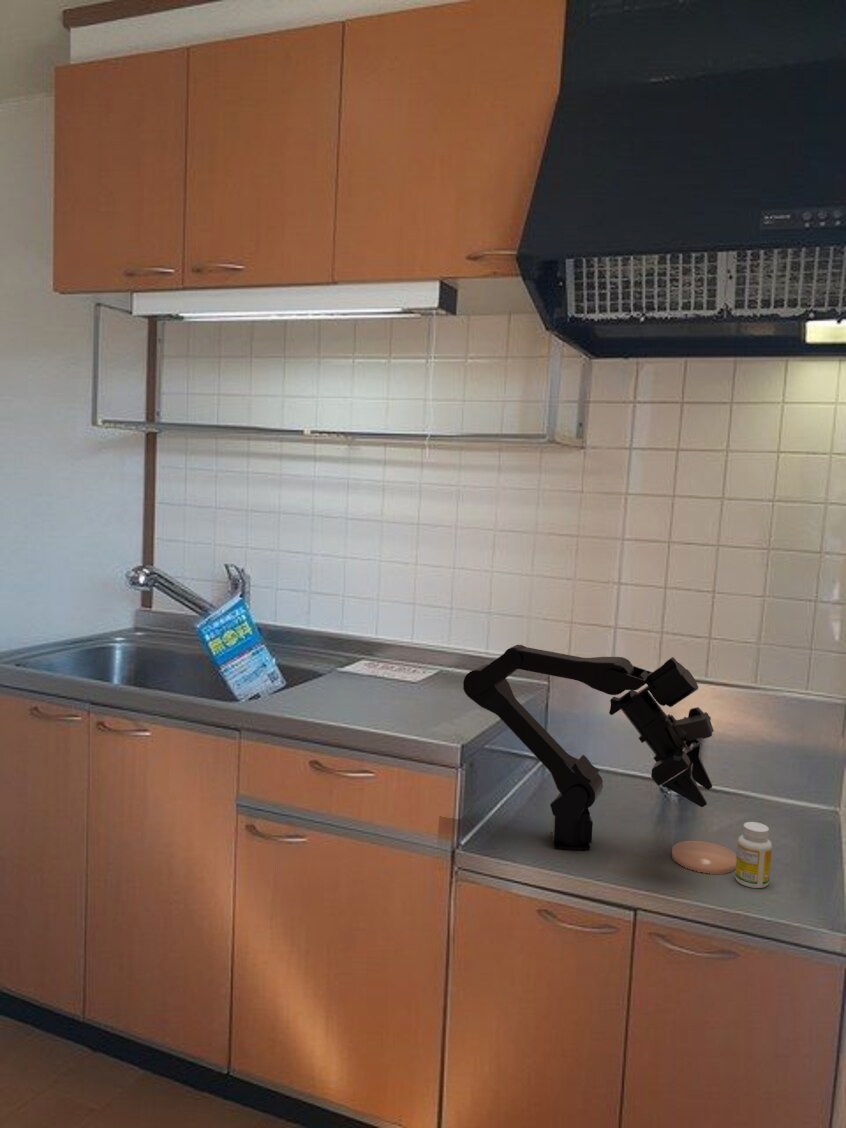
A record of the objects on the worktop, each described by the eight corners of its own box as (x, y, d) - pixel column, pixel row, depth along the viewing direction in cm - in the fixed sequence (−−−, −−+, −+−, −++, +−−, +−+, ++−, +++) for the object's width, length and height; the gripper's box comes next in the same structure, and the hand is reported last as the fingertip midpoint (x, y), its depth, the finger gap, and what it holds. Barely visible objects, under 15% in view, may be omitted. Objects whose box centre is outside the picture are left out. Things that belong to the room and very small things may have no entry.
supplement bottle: (743, 889, 145) (747, 833, 144) (729, 874, 150) (733, 820, 149) (775, 888, 145) (779, 832, 144) (759, 874, 151) (763, 820, 150)
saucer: (679, 872, 150) (680, 865, 150) (665, 845, 161) (666, 839, 161) (745, 875, 150) (745, 869, 150) (726, 848, 161) (727, 842, 160)
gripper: (681, 708, 142) (743, 790, 139) (694, 684, 159) (750, 756, 156) (626, 744, 146) (685, 824, 143) (645, 717, 163) (698, 788, 160)
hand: (707, 796), depth 150 cm, fingers open, 9 cm apart
